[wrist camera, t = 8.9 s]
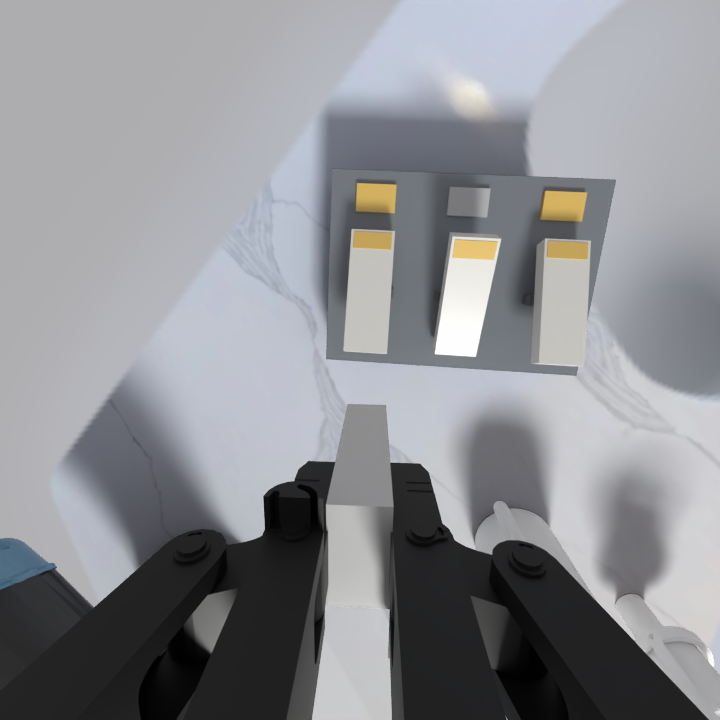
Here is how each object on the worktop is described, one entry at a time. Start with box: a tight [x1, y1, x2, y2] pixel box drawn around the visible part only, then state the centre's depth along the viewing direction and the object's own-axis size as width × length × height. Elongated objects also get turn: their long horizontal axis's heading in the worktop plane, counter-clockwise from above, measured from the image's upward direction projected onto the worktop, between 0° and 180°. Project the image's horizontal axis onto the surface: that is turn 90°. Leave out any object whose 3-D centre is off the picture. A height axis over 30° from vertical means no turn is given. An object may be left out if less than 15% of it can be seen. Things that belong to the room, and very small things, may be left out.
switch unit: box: [326, 169, 616, 376], centre depth 31 cm, size 21×15×6 cm
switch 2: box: [433, 232, 501, 357], centre depth 27 cm, size 3×9×1 cm, turn 177°
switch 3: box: [531, 238, 591, 367], centre depth 27 cm, size 3×9×1 cm, turn 177°
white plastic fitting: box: [615, 594, 720, 720], centre depth 34 cm, size 7×7×15 cm
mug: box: [475, 501, 595, 599], centre depth 35 cm, size 12×8×10 cm
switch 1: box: [343, 229, 395, 354], centre depth 28 cm, size 3×9×1 cm, turn 177°
